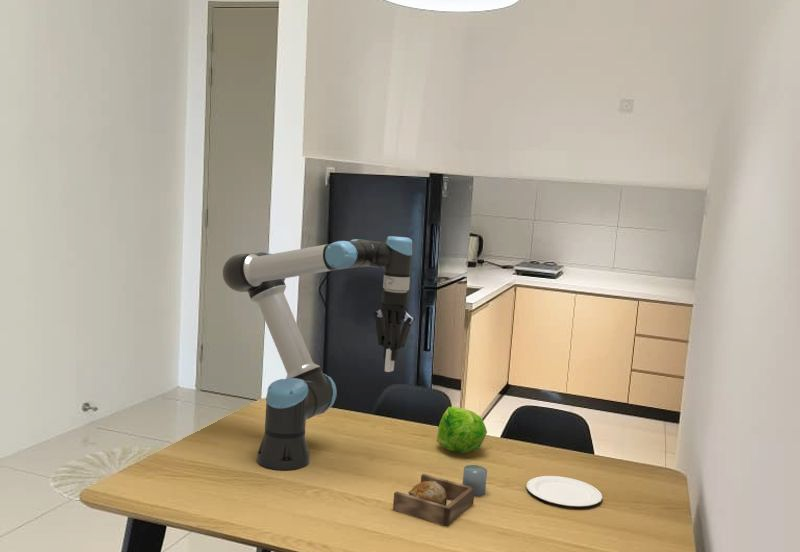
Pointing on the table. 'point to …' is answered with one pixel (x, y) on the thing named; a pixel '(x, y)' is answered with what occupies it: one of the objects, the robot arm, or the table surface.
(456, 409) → the lettuce
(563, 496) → the plate
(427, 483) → the bread roll
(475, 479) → the grey-blue cylinder
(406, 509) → the corral
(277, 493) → the table surface
